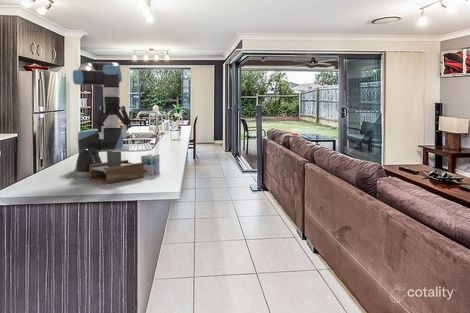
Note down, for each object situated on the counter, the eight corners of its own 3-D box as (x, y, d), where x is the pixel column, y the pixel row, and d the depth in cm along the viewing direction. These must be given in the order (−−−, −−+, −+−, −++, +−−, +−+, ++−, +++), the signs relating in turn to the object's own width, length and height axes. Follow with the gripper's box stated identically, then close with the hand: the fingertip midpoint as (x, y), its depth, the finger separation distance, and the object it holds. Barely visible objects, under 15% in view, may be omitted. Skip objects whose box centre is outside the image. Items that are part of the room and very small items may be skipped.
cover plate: (91, 169, 199) (90, 151, 198) (121, 164, 213) (121, 148, 212) (106, 172, 191) (105, 153, 190) (136, 167, 205) (136, 150, 204)
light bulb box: (152, 175, 215) (152, 156, 214) (141, 175, 217) (140, 155, 215) (160, 172, 226) (159, 153, 224) (149, 171, 227) (148, 153, 226)
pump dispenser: (100, 175, 213) (99, 148, 211) (87, 179, 204) (86, 150, 201) (85, 174, 217) (84, 147, 214) (71, 177, 207) (70, 149, 205)
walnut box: (89, 180, 201) (89, 164, 200) (125, 174, 218) (125, 159, 216) (107, 184, 191) (106, 167, 190) (143, 178, 208) (143, 162, 207)
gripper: (93, 95, 185) (95, 140, 188) (136, 96, 204) (137, 137, 207) (85, 95, 190) (87, 139, 193) (128, 96, 209) (129, 136, 212)
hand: (113, 138), depth 200 cm, fingers open, 13 cm apart
